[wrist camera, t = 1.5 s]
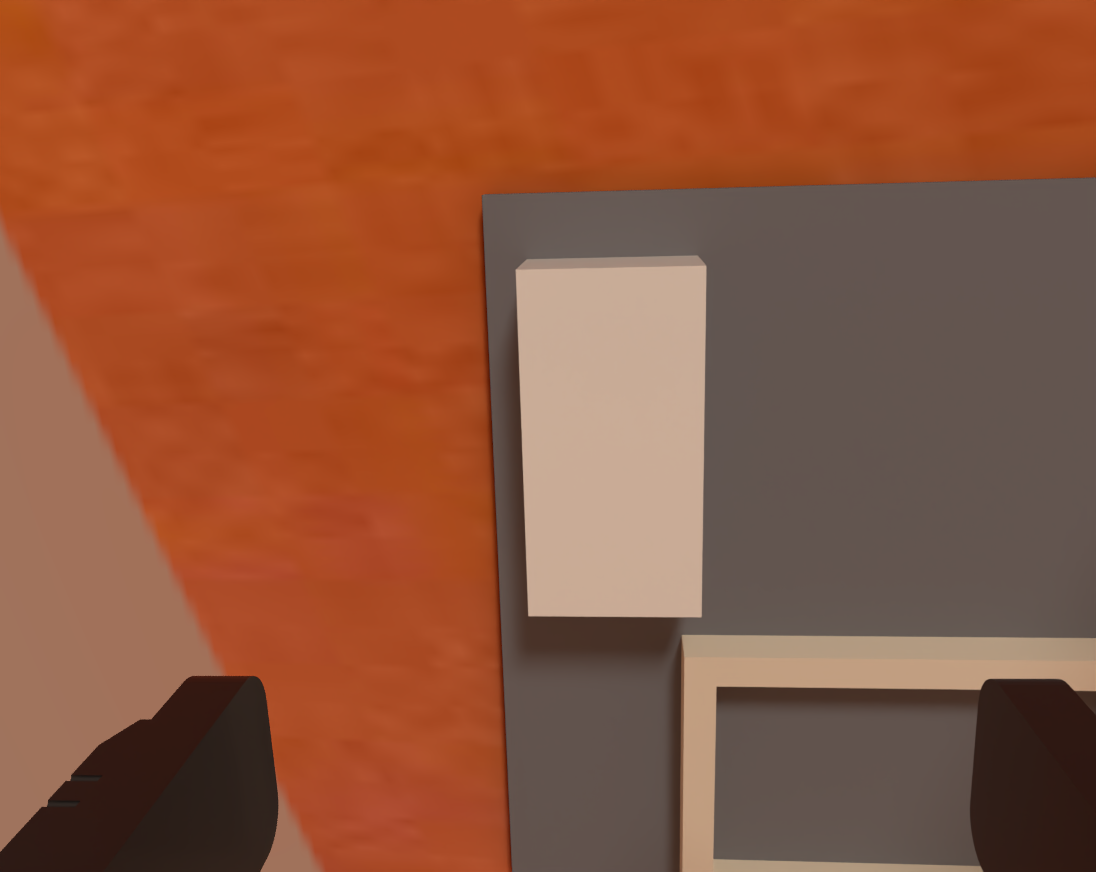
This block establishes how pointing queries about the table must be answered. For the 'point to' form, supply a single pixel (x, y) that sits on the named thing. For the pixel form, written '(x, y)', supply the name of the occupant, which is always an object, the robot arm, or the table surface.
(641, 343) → the tile
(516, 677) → the mat
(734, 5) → the table surface
